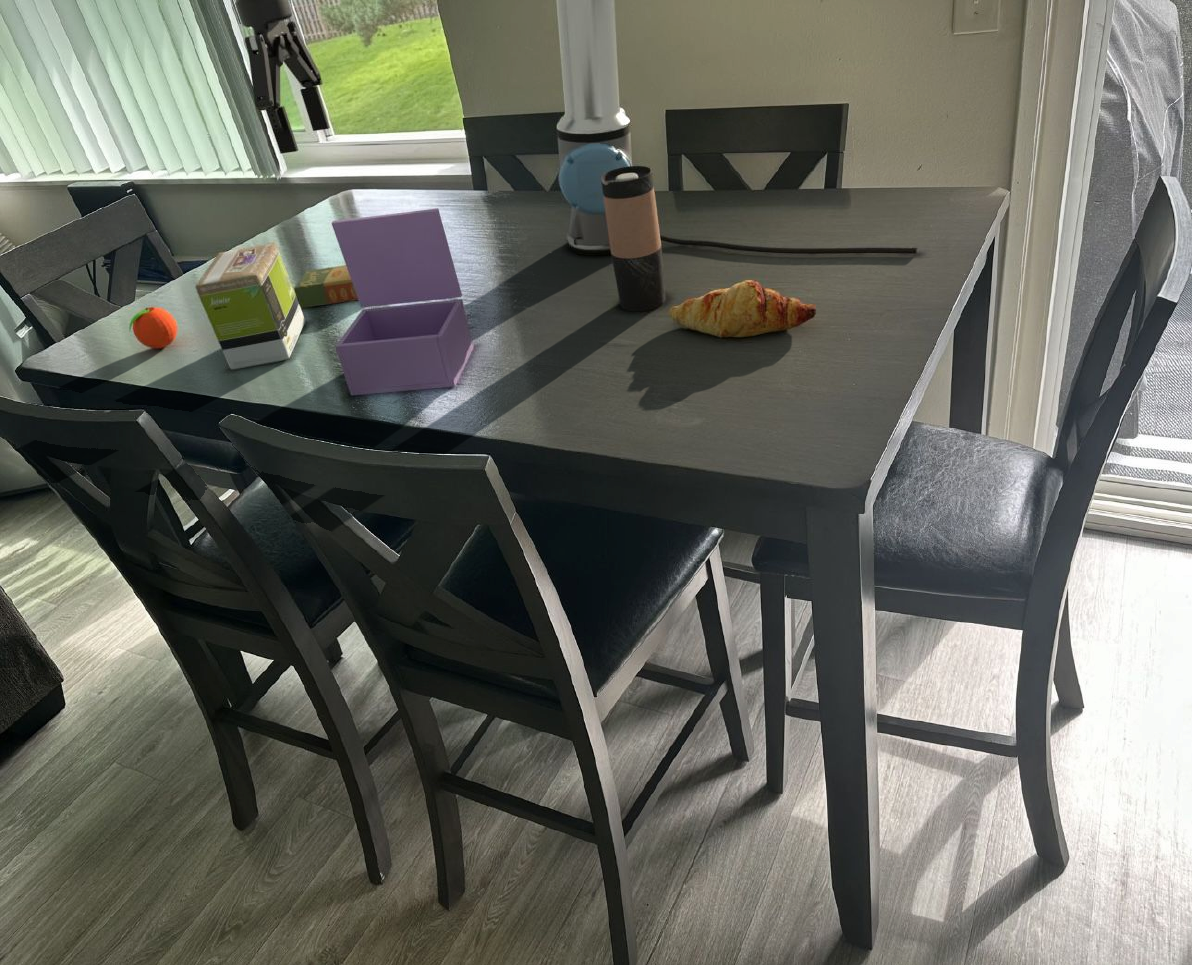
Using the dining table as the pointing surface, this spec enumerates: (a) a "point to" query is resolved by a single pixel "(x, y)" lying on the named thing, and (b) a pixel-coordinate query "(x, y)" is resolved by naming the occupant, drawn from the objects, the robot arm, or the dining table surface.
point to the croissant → (742, 311)
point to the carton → (325, 287)
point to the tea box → (251, 305)
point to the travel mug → (634, 237)
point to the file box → (406, 347)
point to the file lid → (398, 258)
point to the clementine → (154, 327)
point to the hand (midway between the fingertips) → (306, 140)
